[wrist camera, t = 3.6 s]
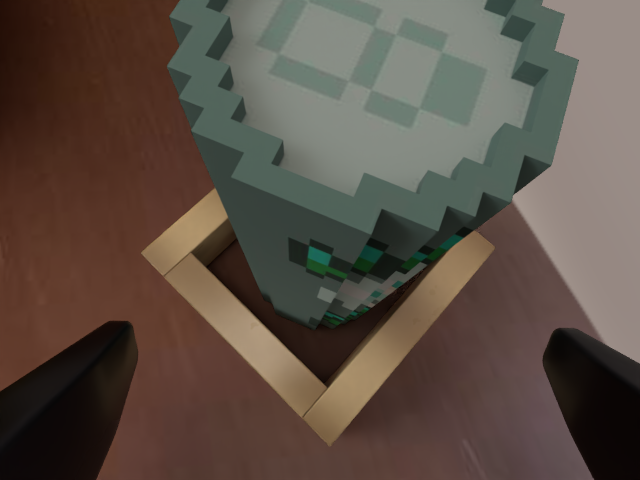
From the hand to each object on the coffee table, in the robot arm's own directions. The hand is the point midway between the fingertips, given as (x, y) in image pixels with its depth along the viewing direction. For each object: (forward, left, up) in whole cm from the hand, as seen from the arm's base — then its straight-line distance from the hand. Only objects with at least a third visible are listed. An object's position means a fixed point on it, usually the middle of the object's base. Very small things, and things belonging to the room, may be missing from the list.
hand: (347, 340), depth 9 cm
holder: (+3, +3, -11) cm, 12 cm away
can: (+3, +3, -11) cm, 12 cm away
